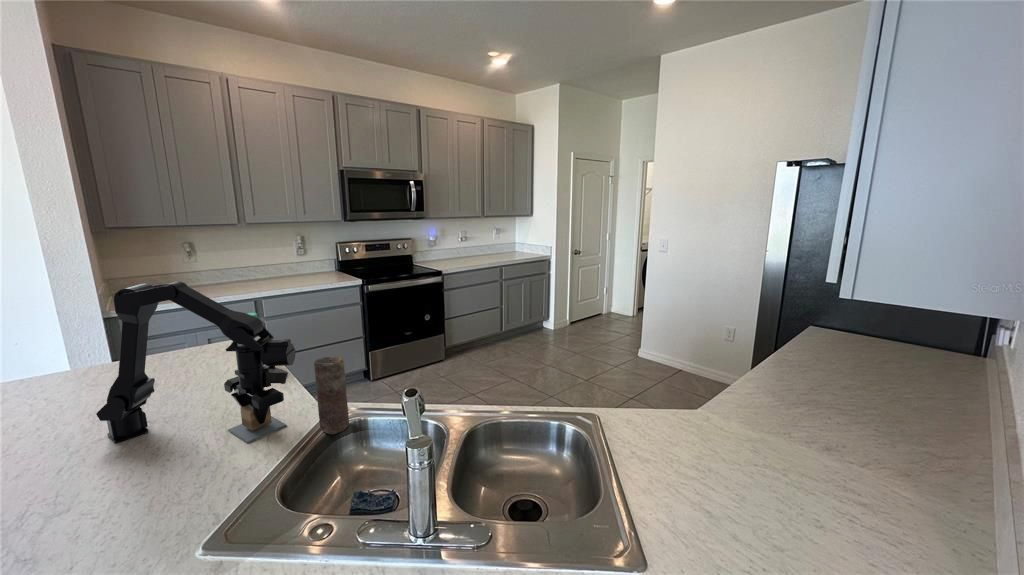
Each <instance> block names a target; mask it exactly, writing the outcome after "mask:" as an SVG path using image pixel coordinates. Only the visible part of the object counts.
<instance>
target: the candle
mask: <svg viewBox="0 0 1024 575" xmlns="http://www.w3.org/2000/svg"><path fill="white" fill-rule="evenodd" d="M313 367H314V375H315V376H314V377H315V385H316V397H317V410H318V420H319V422H318V423H319V428H320V430H321V431H322V432H324V433H326V434H328V435H335V434H338V433H340V432H341V433H342V432H343V431H344V430H345V429H346V428H347V427H348V426H349V425H350V415H349V414H350V413H349V406H348V397H347V396H348V395H347V386H346V372H345V362H344V358H343V356H340V357H338V356H335V357H334V356H324V357H321V358H318V359H315V360H313Z"/></svg>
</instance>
